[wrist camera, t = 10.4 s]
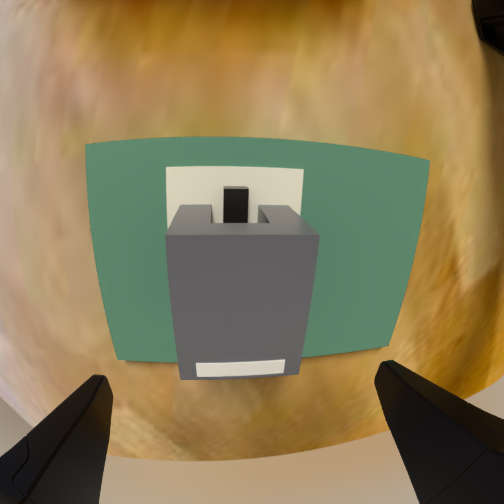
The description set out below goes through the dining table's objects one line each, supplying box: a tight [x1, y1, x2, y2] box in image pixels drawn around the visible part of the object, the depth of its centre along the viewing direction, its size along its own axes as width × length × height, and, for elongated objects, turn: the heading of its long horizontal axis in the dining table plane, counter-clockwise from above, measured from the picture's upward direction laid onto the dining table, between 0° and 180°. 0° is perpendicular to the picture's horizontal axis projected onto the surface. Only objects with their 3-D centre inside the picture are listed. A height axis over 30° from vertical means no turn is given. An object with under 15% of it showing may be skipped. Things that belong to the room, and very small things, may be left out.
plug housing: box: [165, 204, 320, 380], centre depth 14 cm, size 6×7×5 cm
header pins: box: [223, 186, 249, 223], centre depth 15 cm, size 1×9×2 cm, turn 178°
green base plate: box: [85, 137, 430, 363], centre depth 17 cm, size 20×14×1 cm
